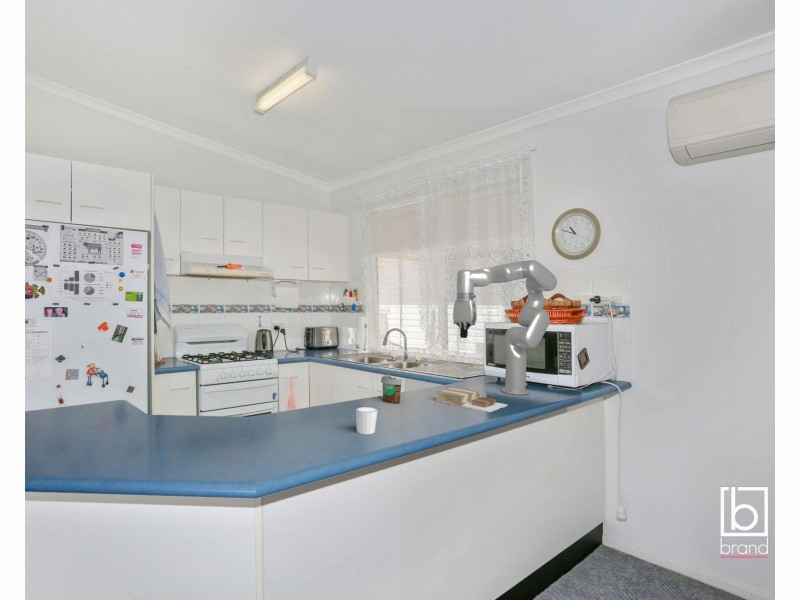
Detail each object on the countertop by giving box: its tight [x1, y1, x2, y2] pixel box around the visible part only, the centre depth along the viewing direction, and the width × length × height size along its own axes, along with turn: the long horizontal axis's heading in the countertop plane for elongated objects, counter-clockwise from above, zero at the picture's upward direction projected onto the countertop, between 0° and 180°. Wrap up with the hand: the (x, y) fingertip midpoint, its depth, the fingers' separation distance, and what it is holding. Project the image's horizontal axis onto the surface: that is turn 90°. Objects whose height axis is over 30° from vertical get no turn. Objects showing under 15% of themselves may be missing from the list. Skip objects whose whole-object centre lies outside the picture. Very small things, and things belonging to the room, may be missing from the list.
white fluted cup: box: [355, 406, 379, 435], centre depth 139 cm, size 7×7×7 cm
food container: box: [380, 374, 403, 405], centre depth 181 cm, size 12×6×10 cm, turn 25°
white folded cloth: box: [461, 401, 508, 413], centre depth 180 cm, size 16×12×1 cm
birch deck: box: [435, 386, 481, 407], centre depth 188 cm, size 16×12×4 cm
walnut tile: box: [472, 396, 496, 408], centre depth 181 cm, size 9×6×2 cm, turn 141°
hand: (463, 337), depth 198 cm, fingers closed
